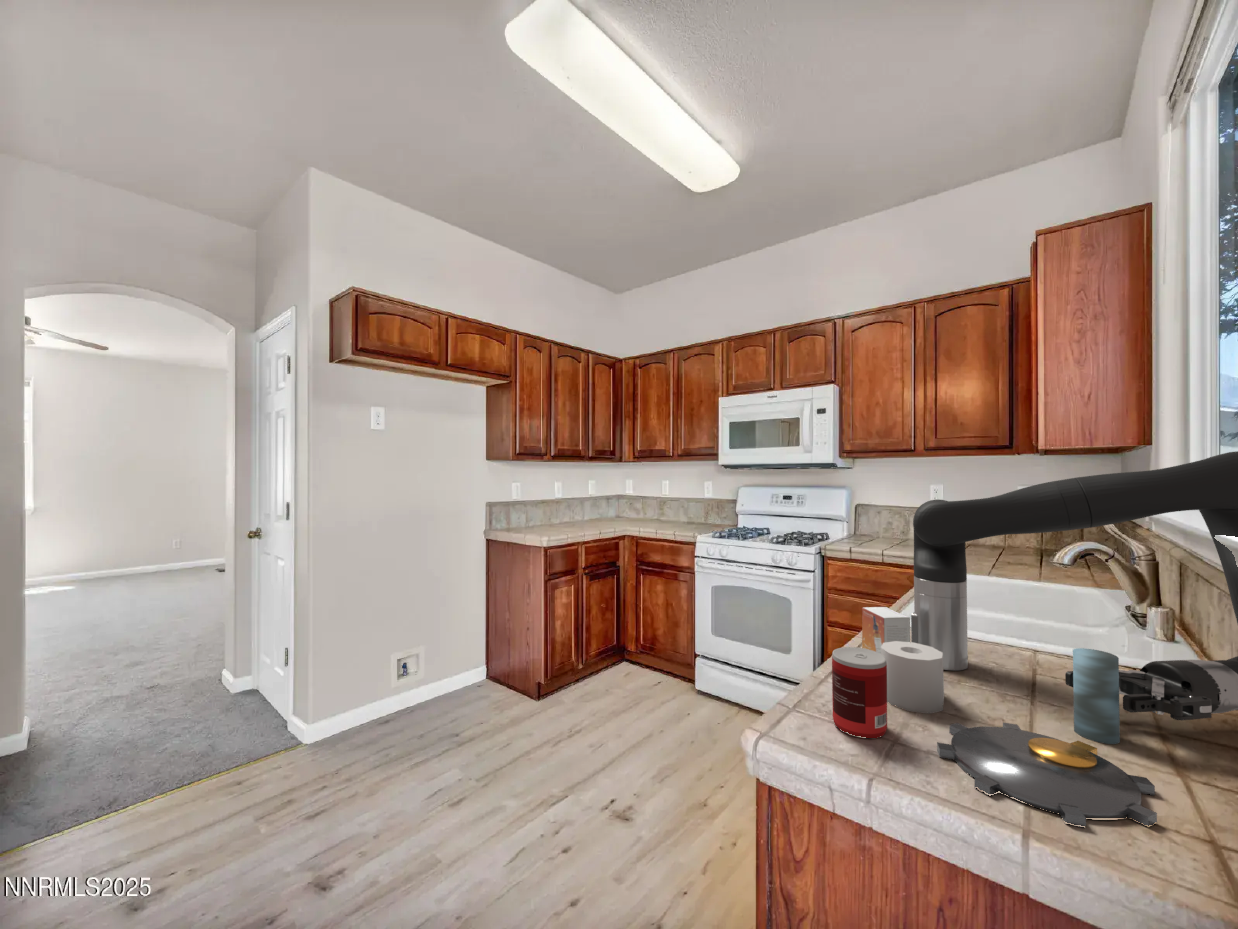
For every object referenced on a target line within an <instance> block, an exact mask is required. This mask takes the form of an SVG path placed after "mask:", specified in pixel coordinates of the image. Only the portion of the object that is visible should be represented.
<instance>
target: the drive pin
mask: <svg viewBox="0 0 1238 929" xmlns="http://www.w3.org/2000/svg"><path fill="white" fill-rule="evenodd" d="M1119 660H1120V658H1119V656H1117V655H1115V654H1112V653H1110V652H1108V651H1107V652H1106V651H1105V650H1104V651H1102V650H1098V649H1094V648H1085V647H1081V648H1080V647H1079V648H1076V647H1075V648H1073V649H1072V671H1073V687H1072V688H1073V731H1074V733H1075V734H1076V735H1079V736H1081V737H1082V738H1085V739H1087V740H1090V741H1092V742H1096V743H1100V744H1107V745H1116V744H1120V742H1121V736H1120V735H1121V733H1120V732H1121V731H1120V729H1121V728H1120V727H1121V726H1120V723H1121V721H1120V718H1121V716H1120V694H1119V670H1120V667H1119V666H1120V663H1119V662H1120V661H1119Z"/></svg>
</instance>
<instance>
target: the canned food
mask: <svg viewBox="0 0 1238 929" xmlns="http://www.w3.org/2000/svg"><path fill="white" fill-rule="evenodd" d="M831 677H832V678H831V682H832V684H831V687H832V688H831V690H832V693H831V694H832V696H831V697H832V698H831V699H832V701H831V702H832V720H833V723H835V724H834V725H836V726H837V727H838V728H839V729H841V730H842V731H844V732H848V733H849V734H852V735H855V736H861V737H866V738H876V739H878V738H877V737H879V738H881V737H880V736H882V737H883V736H884V735H885V734H886V732H887V729H888V702H887V662H886V658H885V657H884V656H883V655H882V654H880V653H878V652H875V651H872V650H869V649H864V648H862V647H858V646H857V647H856V646H846V647H845V646H843V647H839V648H835V649H834V650H833V651H832V654H831ZM836 726H835V727H836ZM837 727H836V728H837ZM838 728H837V729H838ZM839 729H838V730H839ZM842 731H841V732H842ZM844 732H843V733H844Z"/></svg>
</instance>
